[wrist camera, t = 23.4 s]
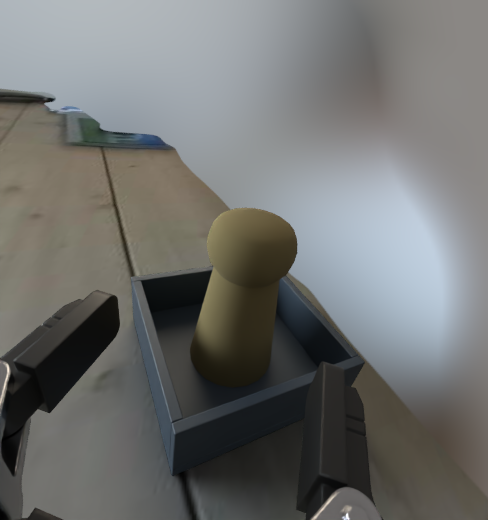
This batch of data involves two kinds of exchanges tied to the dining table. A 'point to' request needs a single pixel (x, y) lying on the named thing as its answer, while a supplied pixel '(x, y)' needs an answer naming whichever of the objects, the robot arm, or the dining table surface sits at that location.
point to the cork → (242, 295)
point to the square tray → (221, 397)
